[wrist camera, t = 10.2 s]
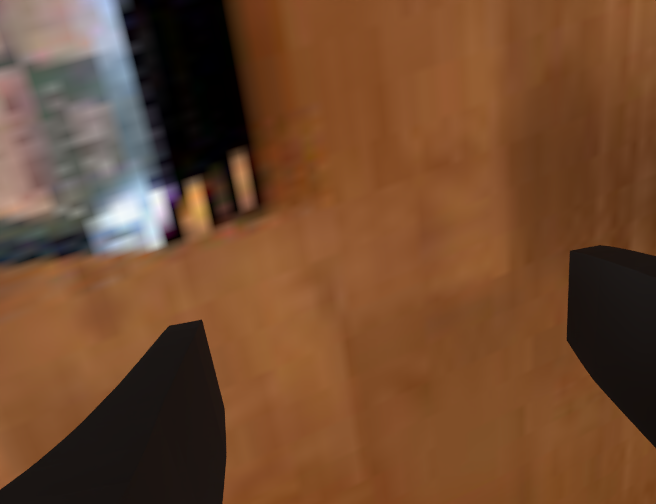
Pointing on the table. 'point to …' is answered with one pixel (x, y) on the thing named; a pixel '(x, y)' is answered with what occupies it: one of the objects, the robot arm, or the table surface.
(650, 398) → the robot arm
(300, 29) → the table surface
